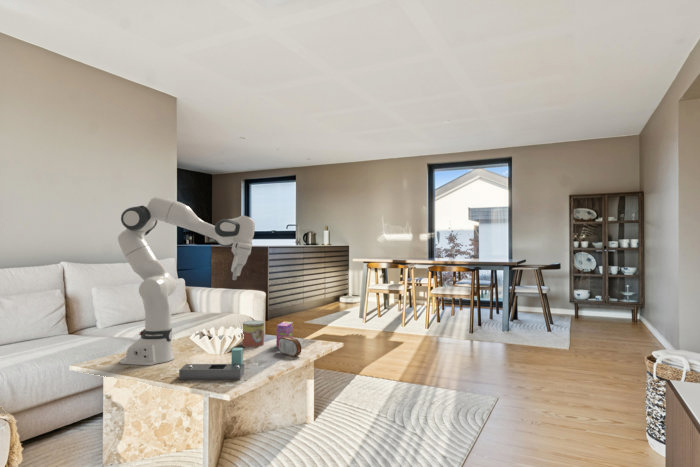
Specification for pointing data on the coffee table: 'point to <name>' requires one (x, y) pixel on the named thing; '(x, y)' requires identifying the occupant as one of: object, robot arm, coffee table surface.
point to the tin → (289, 346)
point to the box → (284, 331)
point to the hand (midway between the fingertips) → (236, 277)
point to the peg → (237, 356)
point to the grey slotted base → (211, 372)
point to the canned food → (253, 333)
